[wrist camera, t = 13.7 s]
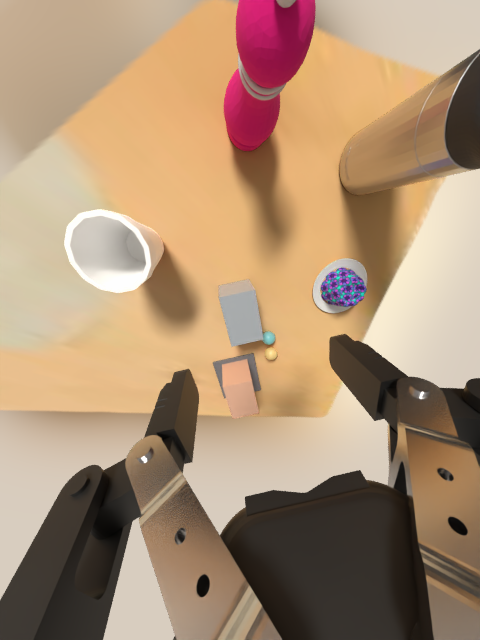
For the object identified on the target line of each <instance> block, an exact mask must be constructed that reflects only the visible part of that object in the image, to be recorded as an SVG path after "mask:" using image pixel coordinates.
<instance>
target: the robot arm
mask: <svg viewBox="0 0 480 640" xmlns="http://www.w3.org/2000/svg"><path fill="white" fill-rule="evenodd" d="M479 168H480V49H479V50H478V51H476V52H475V53H473V54H472V55H471V56H469V57H468V58H466V59H465V60H463V61H462V62H460V63H459V64H457V65H456V66H454V67H453V68H452V69H450V70H449V71H447V72H446V73H444V74H443V75H441V76H440V77H439V78H437V79H436V80H434V81H433V82H431V83H430V84H428V85H427V86H425V87H424V88H422V89H421V90H419V91H418V92H416V93H415V94H413V95H412V96H411V97H409V98H408V99H406V100H405V101H403V102H402V103H400V104H399V105H397V106H396V107H394V108H393V109H391V110H390V111H388V112H387V113H386V114H384V115H383V116H381V117H380V118H378V119H377V120H375V121H374V122H372V123H371V124H369V125H368V126H366V127H365V128H363V129H362V130H360V131H359V132H358V133H356V134H355V135H354V136H353V137H352V138H351V139H350V141H349V142H348V144H347V145H346V147H345V149H344V151H343V153H342V157H341V160H340V168H339V171H340V178H341V182H342V184H343V186H344V187H345V189H346V190H347V191H348V192H350V193H351V194H355V195H364V194H369V193H373V192H378V191H383V190H387V189H392V188H396V187H401V186H405V185H409V184H414V183H418V182H423V181H427V180H432V179H436V178H441V177H445V176H449V175H453V174H457V173H462V172H466V171H471V170H475V169H479ZM329 359H330V364H331V367H332V369H333V370H334V371H335V373H336V374H337V375H338V376H339V378H340V379H341V380H342V381H343V382H344V384H345V385H346V386H347V387H348V389H349V390H350V391H351V392H352V394H353V395H354V396H355V397H356V399H357V400H358V401H359V402H360V403H361V405H362V406H363V407H364V408H365V410H366V411H367V412H368V413H369V415H370V416H371V417H372V418H373V419H374V421H376V420H381V419H385V420H386V421H387V422H388V451H389V477H388V486H387V485H384V484H382V483H378V482H375V481H369V480H366V479H365V478H364V476H363V474H362V473H361V471H360V470H359V471H354V472H350V473H346V474H342V475H337V476H333V477H331V478H329V479H328V480H326V481H324V482H323V483H321V484H320V485H318V486H317V487H315V488H313V489H312V490H310V491H309V492H307V493H297V492H286V491H276V490H272V491H268V492H264V493H260V494H255V495H251V496H246V497H245V504H246V507H245V508H244V509H242V510H241V511H239V512H238V513H237V514H236V515H235V516H234V517H233V518H232V519H231V520H230V521H229V522H228V524H227V525H226V527H225V528H224V529H223V531H222V533H221V535H219V534H218V532H217V530H216V529H215V527H214V525H213V524H212V522H211V520H210V519H209V517H208V516H207V514H206V512H205V510H204V509H203V507H202V505H201V504H200V502H199V500H198V499H197V497H196V495H195V494H194V492H193V491H192V489H191V487H190V485H189V484H188V482H187V481H186V479H185V477H184V476H183V467H184V464H186V463H190V462H192V458H193V450H194V441H195V432H196V422H197V413H198V404H199V393H198V389H197V387H196V384H195V382H194V379H193V377H192V374H191V372H190V370H189V369H186V370H182V371H178V372H175V373H174V375H173V379H172V382H171V383H167V384H166V385H165V386H164V388H163V389H162V390H161V391H160V394H159V397H158V402H157V403H156V405H155V409H154V411H153V414H152V417H151V420H150V423H149V425H148V428H147V431H146V434H145V437H144V438H143V439H141V440H140V441H138V442H137V443H136V444H135V445H134V446H133V447H132V449H131V450H130V452H129V453H128V455H127V458H126V459H124V460H122V461H121V462H118V463H117V464H115V465H113V466H111V467H109V468H107V469H105V470H103V469H102V468H101V467H99V466H98V465H91V466H88V467H86V468H84V469H82V470H80V471H79V472H78V473H76V474H75V475H74V476H73V477H72V478H71V479H70V480H69V481H68V482H67V483H66V484H65V486H64V487H63V489H62V490H61V492H60V494H59V495H58V497H57V499H56V501H55V502H54V504H53V506H52V508H51V510H50V512H49V513H48V515H47V517H46V519H45V520H44V523H43V524H42V526H41V528H40V530H39V532H38V533H37V535H36V537H35V539H34V540H33V542H32V544H31V546H30V548H29V549H28V551H27V553H26V555H25V557H24V558H23V560H22V562H21V564H20V566H19V567H18V569H17V571H16V573H15V575H14V576H13V578H12V580H11V582H10V584H9V586H8V587H7V589H6V591H5V593H4V595H3V597H2V598H1V600H0V640H103V637H104V633H105V629H106V625H107V621H108V617H109V613H110V609H111V605H112V601H113V597H114V593H115V589H116V585H117V581H118V577H119V573H120V569H121V565H122V561H123V557H124V553H125V549H126V545H127V541H128V537H129V533H130V529H131V525H132V521H133V520H135V519H136V518H138V517H140V518H139V523H140V527H141V531H142V534H143V537H144V540H145V543H146V546H147V549H148V552H149V556H150V559H151V562H152V565H153V568H154V571H155V574H156V577H157V580H158V583H159V587H160V590H161V593H162V596H163V599H164V602H165V605H166V608H167V611H168V615H169V618H170V621H171V624H172V627H173V630H174V633H175V637H174V639H173V640H480V378H476V379H471V380H469V381H468V382H467V383H466V386H465V388H464V389H457V388H439V387H438V386H436V385H435V384H433V383H431V382H429V381H427V380H425V379H421V378H417V377H408V376H407V375H405V374H404V373H403V372H402V371H400V370H399V369H398V368H397V367H395V366H394V365H393V364H391V363H390V362H389V361H387V360H386V359H385V358H383V357H382V356H381V355H380V354H379V353H377V352H375V351H374V350H373V349H372V348H371V347H369V346H368V345H366V344H364V343H362V342H359V341H354V340H352V339H351V338H350V337H349V336H347V335H346V334H343V335H338V336H334V337H331V338H330V354H329Z"/></svg>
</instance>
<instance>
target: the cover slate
mask: <svg viewBox="0 0 480 640" xmlns="http://www.w3.org/2000/svg"><path fill="white" fill-rule="evenodd" d="M219 300H220V304H221V308H222V312H223V315H224V319H225V323H226V327H227V331H228V335H229V338H230V342H231V346H232V347H233V346H237V345H241V344H246V343H250V342H255V341H259V340H263V333H262V327H261V322H260V316H259V310H258V304H257V298H256V292H255V289H254V287H253V285H252V284H251V282H250V280H249V279H247V280H242V281H238V282H233V283H229V284H224V285H220V286H219Z"/></svg>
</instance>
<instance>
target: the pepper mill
mask: <svg viewBox="0 0 480 640" xmlns="http://www.w3.org/2000/svg"><path fill="white" fill-rule="evenodd" d="M314 22H315V0H239V3H238V8H237V16H236V40H237V48H238V52H239V54H238V67H239V68H238V69H237V70H236V71H235V73H234V74H233V76H232V78H231V79H230V81H229V84H228V86H227V89H226V94H225V99H224V116H225V121H226V126H227V132H228V135H229V137H230V140H231V141H232V143H233V144H234V145H235V146H236V147H237V148H239V149H240V150H243V151H252V150H255V149H256V148H258V147H259V146H260V145H261V144H262V143H263V142H264V141H265V140H266V139H267V138H268V137H269V136H270V135H271V133H272V132H273V130H274V128H275V125H276V122H277V120H278V116H279V110H280V92H281V91H282V89H283V88H284V86H285V85H286V83H287V82H288V81H289V80H291V78H292V77H293V76H294V75H295V74H296V73H297V71H298V69H299V68H300V66H301V65H302V63H303V61H304V59H305V57H306V54H307V51H308V49H309V46H310V42H311V39H312V35H313V29H314Z"/></svg>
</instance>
